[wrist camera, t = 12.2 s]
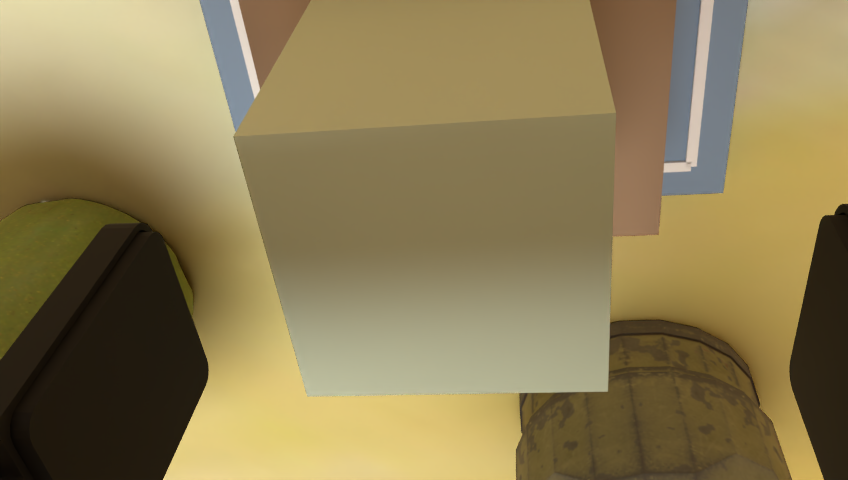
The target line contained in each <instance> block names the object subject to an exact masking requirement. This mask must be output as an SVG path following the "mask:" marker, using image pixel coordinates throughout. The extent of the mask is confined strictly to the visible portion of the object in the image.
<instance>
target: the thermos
mask: <svg viewBox="0 0 848 480" xmlns="http://www.w3.org/2000/svg"><path fill="white" fill-rule="evenodd" d="M759 406H760V402H759V399H758V396H757V393H756V389H755V386H754V383H753V380H752V377H751V374H750V371H749V368H748V366H747V364H746V363H745V362H744V361H743V360H742V359H741V358H740V357H739V356H738V355H737V354H736V352H735V351H734V350H733V349H732V348H731V347H730V346H729V345H728V344H727V343H725V342H723V341H721V340H719V339H717V338H715V337H714V336H712V335H710V334H708V333H706V332H704V331H702V330H700V329H698V328H695V327H690V326H686V325H681V324H676V323H671V322H667V321H662V320H642V321H618V322H614V323H610V339H609V373H608V392H552V393H520V418H521V432H522V437H521V439H520V442H519V444H518V446H517V449H516V480H792V478H791V475H790V472H789V470H788V467H787V464H786V461H785V458H784V455H783V452H782V449H781V446H780V443H779V441H778V438H777V435H776V432H775V429H774V426H773V423H772V421H771V420H770V419H769V418H768V417H767V416H766V414H765V413H764V412H763V411H762V410H761V409H760V408H759Z"/></svg>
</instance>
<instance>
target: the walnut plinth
mask: <svg viewBox="0 0 848 480" xmlns="http://www.w3.org/2000/svg"><path fill="white" fill-rule="evenodd" d="M310 1H311V0H238V2H239V6H240V10H241V14H242V18H243V22H244V26H245V30H246V34H247V38H248V42H249V46H250V50H251V54H252V58H253V62H254V66H255V70H256V75H257V79H258V83H259V87H260V89H261V87H262V86H263V84H264V82H265V80H266V79H267V77H268V75H269V73H270V71H271V70H272V68H273V66H274V64H275V63H276V61H277V59H278V57H279V56H280V54H281V52H282V50H283V49H284V47H285V45H286V43H287V42H288V40H289V38H290V36H291V35H292V33H293V31H294V29H295V28H296V26H297V24H298V22H299V21H300V19H301V17H302V15H303V13H304V12H305V10H306V8H307V6H308V5H309V3H310ZM676 3H677V0H590V5H591V9H592V13H593V17H594V22H595V26H596V30H597V34H598V38H599V43H600V47H601V51H602V55H603V60H604V64H605V68H606V72H607V76H608V81H609V85H610V89H611V93H612V98H613V102H614V106H615V110H616V134H615V168H614V202H613V236H638V235H659V223H660V210H661V197H662V184H663V171H664V158H665V145H666V132H667V119H668V106H669V93H670V80H671V67H672V54H673V41H674V28H675V15H676Z"/></svg>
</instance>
